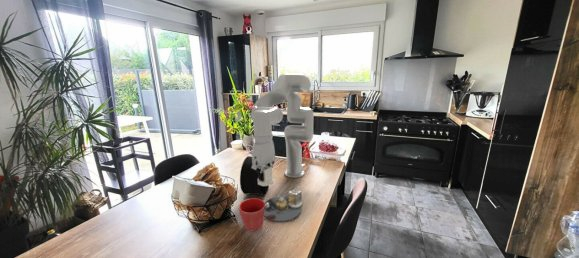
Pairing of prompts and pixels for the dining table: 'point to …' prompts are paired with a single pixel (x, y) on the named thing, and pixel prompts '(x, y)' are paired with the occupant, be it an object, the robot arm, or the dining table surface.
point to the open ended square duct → (266, 176)
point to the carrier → (284, 207)
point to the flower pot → (252, 213)
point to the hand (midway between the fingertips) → (265, 177)
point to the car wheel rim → (250, 179)
